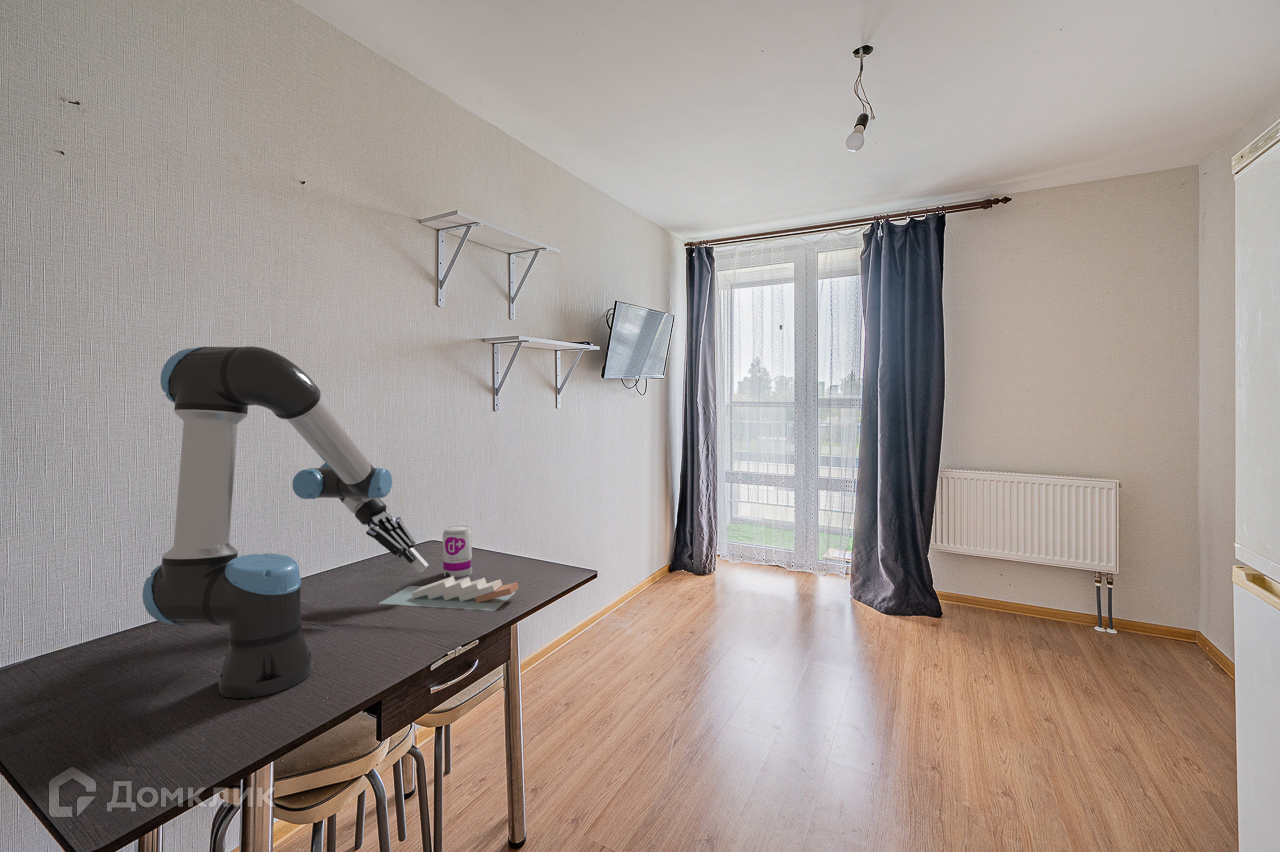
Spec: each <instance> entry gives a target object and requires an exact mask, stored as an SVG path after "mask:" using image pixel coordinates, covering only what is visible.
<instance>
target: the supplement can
mask: <svg viewBox="0 0 1280 852" xmlns="http://www.w3.org/2000/svg"><path fill="white" fill-rule="evenodd" d="M472 541H473V540H472V531H471V529H470V527H469V526H467V525H454V526H453V525H452V526H448V527H446V528H445V529H444V531H443V533H442V561H443V562H442V565H443V571H442V572H443V577H446V578H449V577H452V576H454V579H456V578H462V577H463V578H465V577H466V576H467V577H468V576H470V575H472V574H473V557H472V555H473V554H472V552H473V549H472V548H473V546H472Z"/></svg>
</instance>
